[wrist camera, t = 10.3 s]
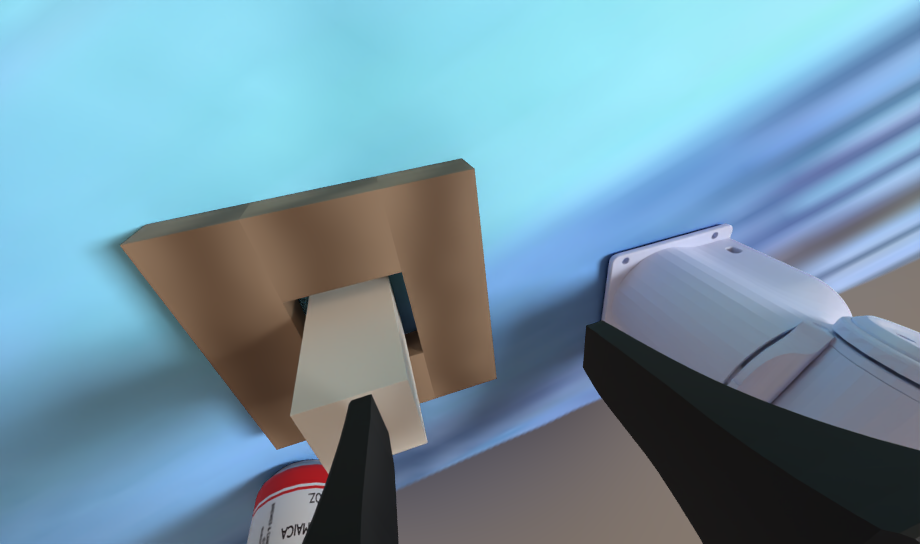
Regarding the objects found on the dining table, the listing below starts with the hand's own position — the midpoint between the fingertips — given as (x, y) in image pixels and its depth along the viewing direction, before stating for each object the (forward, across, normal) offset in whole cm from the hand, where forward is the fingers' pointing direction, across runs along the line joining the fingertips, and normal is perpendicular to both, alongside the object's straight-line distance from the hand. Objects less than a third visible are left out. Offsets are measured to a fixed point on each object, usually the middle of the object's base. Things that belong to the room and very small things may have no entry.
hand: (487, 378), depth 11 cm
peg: (+9, +5, +2) cm, 11 cm away
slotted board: (+9, +5, +2) cm, 11 cm away
